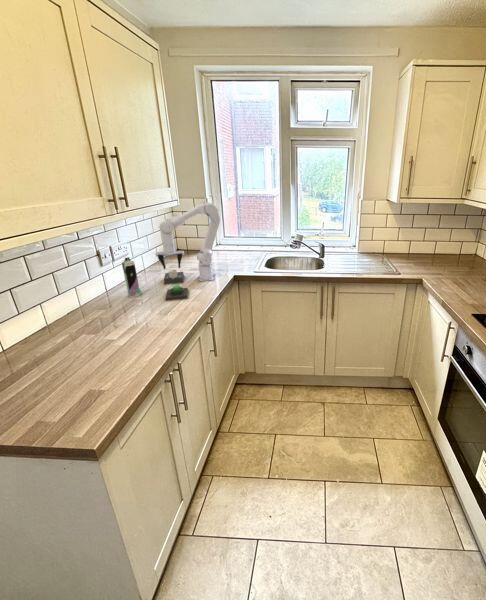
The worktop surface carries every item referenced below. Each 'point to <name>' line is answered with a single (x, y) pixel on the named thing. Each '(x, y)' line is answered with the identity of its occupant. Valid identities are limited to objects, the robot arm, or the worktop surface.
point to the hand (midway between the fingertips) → (172, 268)
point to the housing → (177, 294)
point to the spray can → (131, 278)
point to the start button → (176, 288)
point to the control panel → (174, 280)
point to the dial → (173, 273)
